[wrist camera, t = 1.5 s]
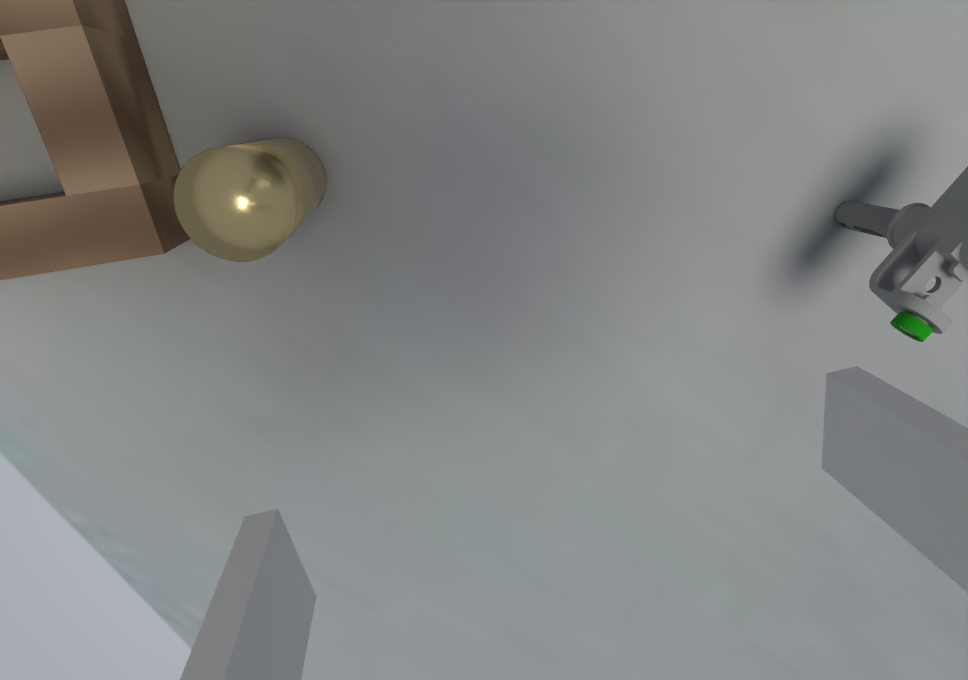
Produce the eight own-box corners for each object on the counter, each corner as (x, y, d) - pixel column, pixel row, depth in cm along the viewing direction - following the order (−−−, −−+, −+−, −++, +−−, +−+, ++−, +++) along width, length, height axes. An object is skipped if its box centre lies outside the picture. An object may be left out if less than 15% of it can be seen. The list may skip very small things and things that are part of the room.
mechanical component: (772, 269, 35) (906, 323, 26) (894, 125, 33) (1088, 128, 23) (802, 294, 36) (941, 355, 27) (923, 156, 34) (1121, 170, 24)
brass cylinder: (235, 144, 28) (156, 156, 19) (315, 132, 29) (275, 138, 19) (258, 223, 30) (195, 269, 21) (334, 210, 30) (305, 251, 21)
